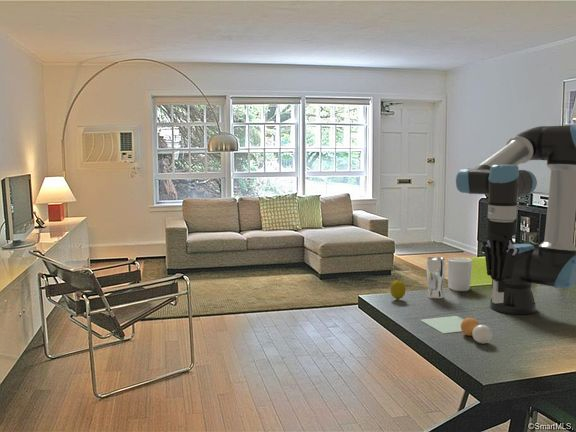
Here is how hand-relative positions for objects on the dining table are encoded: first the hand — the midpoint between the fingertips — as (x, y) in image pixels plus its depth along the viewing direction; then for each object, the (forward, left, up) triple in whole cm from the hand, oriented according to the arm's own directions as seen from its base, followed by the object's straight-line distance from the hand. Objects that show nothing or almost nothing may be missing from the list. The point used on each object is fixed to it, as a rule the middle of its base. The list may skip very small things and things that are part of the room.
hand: (497, 302), depth 158 cm
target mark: (0, -23, -14) cm, 27 cm away
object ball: (0, -12, -11) cm, 17 cm away
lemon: (+3, -54, -14) cm, 56 cm away
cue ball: (+1, -5, -11) cm, 12 cm away
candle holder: (-29, -62, -14) cm, 70 cm away
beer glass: (-13, -54, -14) cm, 57 cm away
